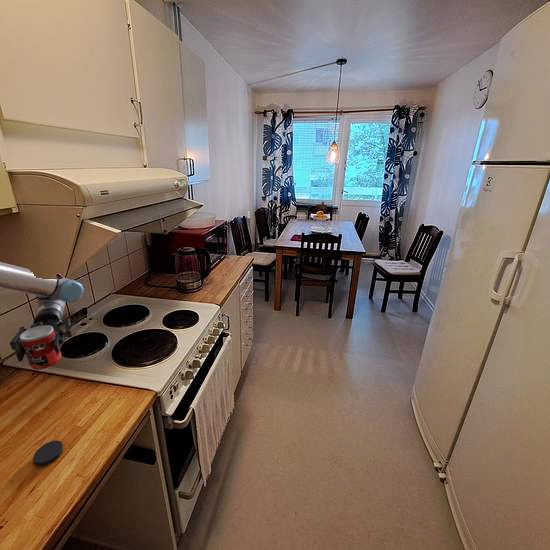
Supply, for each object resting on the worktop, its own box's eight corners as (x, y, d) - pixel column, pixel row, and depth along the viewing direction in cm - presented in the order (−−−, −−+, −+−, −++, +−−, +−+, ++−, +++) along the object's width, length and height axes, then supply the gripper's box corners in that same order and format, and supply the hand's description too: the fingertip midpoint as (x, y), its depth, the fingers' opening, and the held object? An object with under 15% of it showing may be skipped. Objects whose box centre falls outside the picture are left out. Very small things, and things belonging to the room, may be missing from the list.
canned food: (24, 367, 87) (12, 337, 82) (49, 352, 94) (39, 323, 90) (44, 372, 85) (33, 341, 81) (68, 355, 92) (59, 326, 88)
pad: (28, 465, 70) (26, 462, 70) (46, 443, 76) (45, 440, 76) (52, 466, 70) (51, 463, 70) (69, 443, 76) (67, 440, 76)
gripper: (85, 319, 108) (83, 352, 89) (14, 334, 98) (-5, 375, 80) (80, 301, 105) (77, 332, 87) (7, 315, 95) (-15, 353, 77)
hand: (38, 352), depth 83 cm, fingers closed on canned food, 8 cm apart
